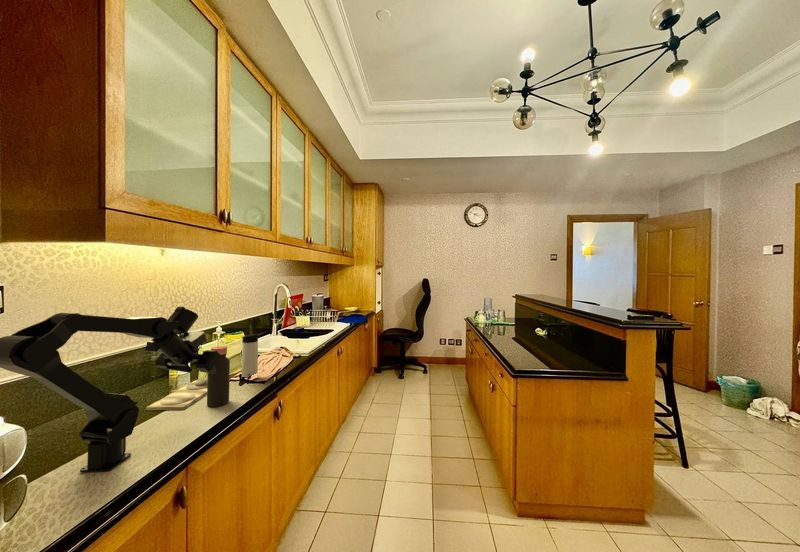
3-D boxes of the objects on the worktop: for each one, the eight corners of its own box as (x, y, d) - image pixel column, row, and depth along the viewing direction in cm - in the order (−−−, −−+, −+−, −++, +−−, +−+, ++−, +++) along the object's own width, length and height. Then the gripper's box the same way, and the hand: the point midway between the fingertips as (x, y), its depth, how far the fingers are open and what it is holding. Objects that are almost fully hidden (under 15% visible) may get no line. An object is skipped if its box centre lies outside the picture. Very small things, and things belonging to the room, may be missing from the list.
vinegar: (208, 401, 107) (209, 346, 108) (230, 398, 110) (230, 344, 110) (205, 409, 101) (206, 350, 101) (228, 405, 104) (229, 348, 104)
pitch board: (183, 409, 101) (183, 401, 101) (146, 410, 100) (146, 402, 100) (224, 382, 128) (224, 375, 128) (195, 382, 127) (195, 375, 127)
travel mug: (251, 382, 128) (252, 335, 128) (238, 380, 129) (239, 334, 129) (261, 377, 134) (261, 333, 134) (248, 376, 135) (249, 332, 136)
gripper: (216, 325, 92) (240, 352, 103) (164, 323, 95) (193, 349, 106) (194, 357, 85) (222, 382, 95) (139, 354, 87) (172, 379, 98)
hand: (202, 372), depth 99 cm, fingers open, 9 cm apart
